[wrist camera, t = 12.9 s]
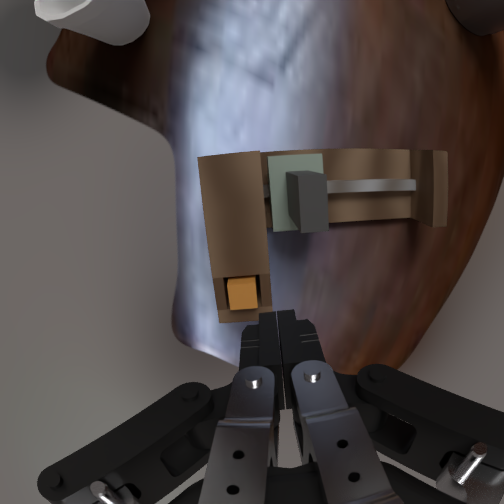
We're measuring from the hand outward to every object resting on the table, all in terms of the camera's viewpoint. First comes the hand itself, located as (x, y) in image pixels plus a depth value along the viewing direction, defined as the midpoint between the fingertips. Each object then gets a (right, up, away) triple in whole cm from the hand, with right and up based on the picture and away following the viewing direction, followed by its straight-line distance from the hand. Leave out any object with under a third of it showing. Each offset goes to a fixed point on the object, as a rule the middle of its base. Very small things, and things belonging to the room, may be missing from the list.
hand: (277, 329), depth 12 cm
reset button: (-2, +1, +17) cm, 17 cm away
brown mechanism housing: (+7, +7, +20) cm, 23 cm away
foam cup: (-16, +31, +13) cm, 37 cm away
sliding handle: (+3, +10, +18) cm, 21 cm away
